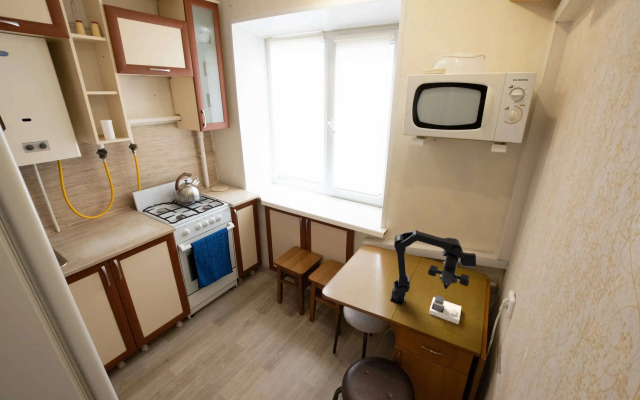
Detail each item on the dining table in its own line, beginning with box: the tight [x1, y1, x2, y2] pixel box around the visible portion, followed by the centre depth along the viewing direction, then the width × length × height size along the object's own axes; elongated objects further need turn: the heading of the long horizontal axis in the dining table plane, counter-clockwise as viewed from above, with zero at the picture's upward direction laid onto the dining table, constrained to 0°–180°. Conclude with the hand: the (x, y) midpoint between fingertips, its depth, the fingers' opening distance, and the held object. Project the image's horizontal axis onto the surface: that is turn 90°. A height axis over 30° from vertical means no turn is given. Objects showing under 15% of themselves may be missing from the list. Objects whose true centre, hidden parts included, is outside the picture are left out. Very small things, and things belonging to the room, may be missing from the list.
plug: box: [433, 294, 445, 312], centre depth 143 cm, size 4×4×8 cm
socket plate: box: [428, 296, 462, 325], centre depth 144 cm, size 14×11×3 cm
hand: (445, 288), depth 143 cm, fingers closed
